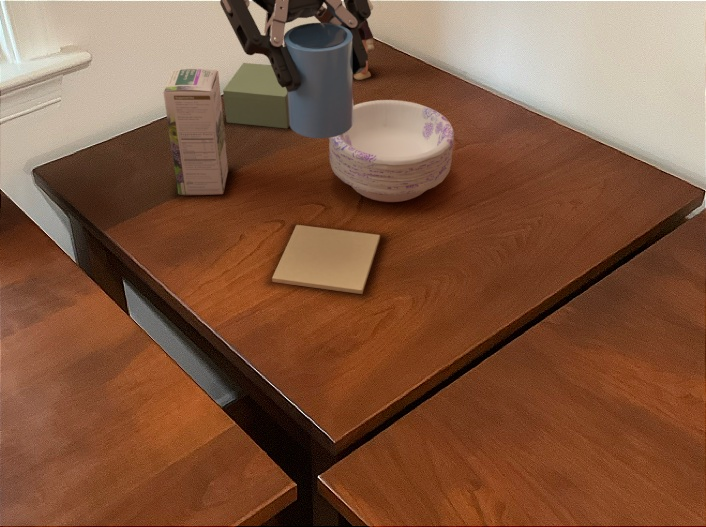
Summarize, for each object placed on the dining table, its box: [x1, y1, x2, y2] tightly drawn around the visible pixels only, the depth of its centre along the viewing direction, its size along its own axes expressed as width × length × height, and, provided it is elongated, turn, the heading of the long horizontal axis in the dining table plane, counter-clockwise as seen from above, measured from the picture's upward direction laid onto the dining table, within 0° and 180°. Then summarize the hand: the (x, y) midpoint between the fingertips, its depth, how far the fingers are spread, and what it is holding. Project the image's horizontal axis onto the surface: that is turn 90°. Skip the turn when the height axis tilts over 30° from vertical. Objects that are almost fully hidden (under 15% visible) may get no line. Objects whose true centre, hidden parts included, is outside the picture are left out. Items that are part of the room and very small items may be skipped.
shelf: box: [222, 62, 290, 130], centre depth 117 cm, size 9×9×5 cm
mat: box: [271, 224, 381, 295], centre depth 92 cm, size 10×10×1 cm
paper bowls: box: [328, 99, 455, 203], centre depth 102 cm, size 15×15×8 cm
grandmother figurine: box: [353, 0, 375, 81], centre depth 124 cm, size 8×4×13 cm, turn 34°
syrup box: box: [163, 67, 229, 196], centre depth 100 cm, size 6×6×14 cm
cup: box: [283, 22, 354, 139], centre depth 79 cm, size 6×6×9 cm
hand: (328, 78), depth 77 cm, fingers closed on cup, 6 cm apart
